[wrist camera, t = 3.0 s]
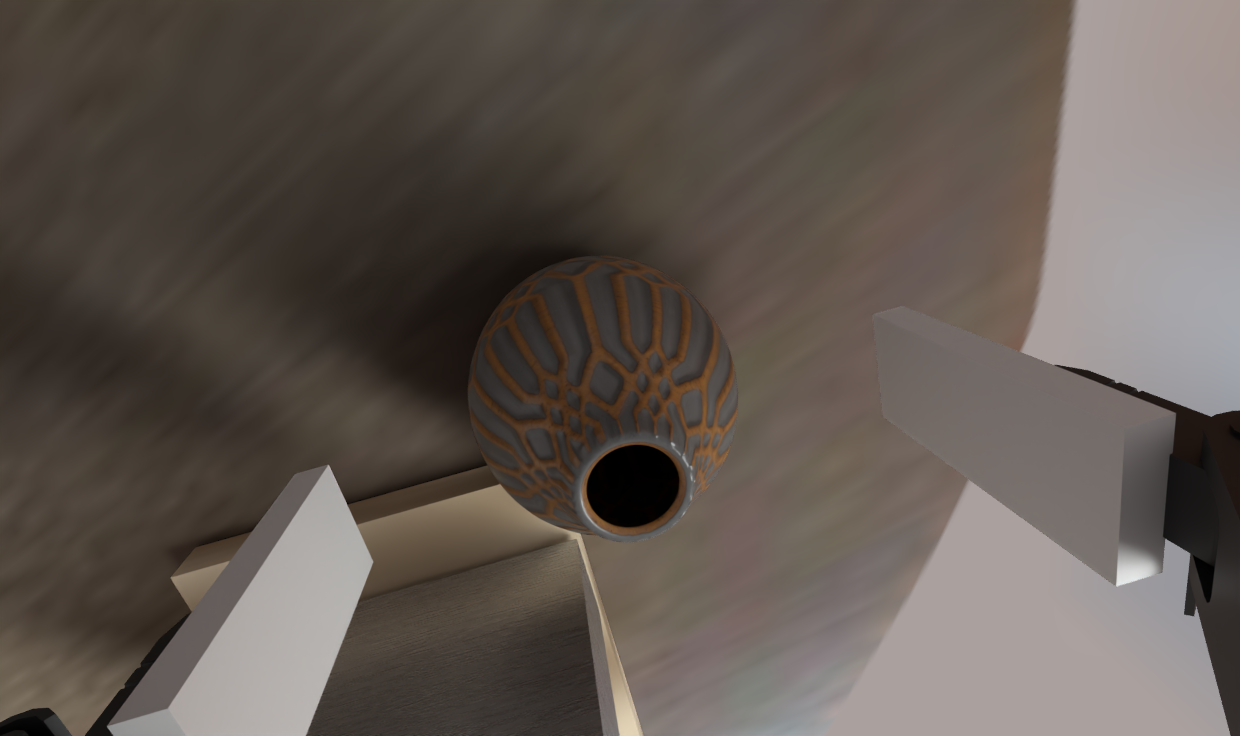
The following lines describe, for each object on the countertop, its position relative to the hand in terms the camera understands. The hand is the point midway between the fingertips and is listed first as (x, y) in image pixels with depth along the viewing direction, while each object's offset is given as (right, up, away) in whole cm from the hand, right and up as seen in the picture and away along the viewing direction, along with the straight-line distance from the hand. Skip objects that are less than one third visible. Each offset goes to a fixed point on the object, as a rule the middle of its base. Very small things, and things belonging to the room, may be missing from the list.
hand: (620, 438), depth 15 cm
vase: (-1, +2, +5) cm, 6 cm away
